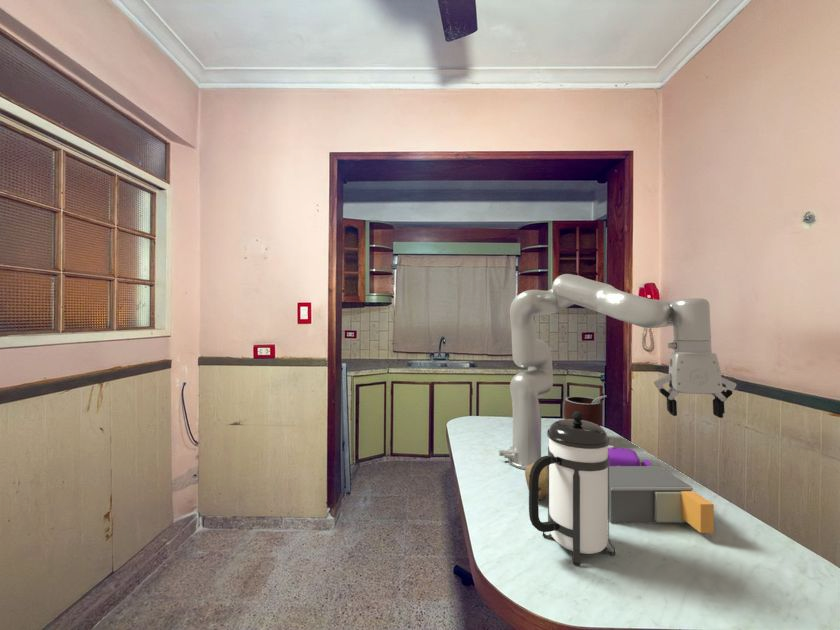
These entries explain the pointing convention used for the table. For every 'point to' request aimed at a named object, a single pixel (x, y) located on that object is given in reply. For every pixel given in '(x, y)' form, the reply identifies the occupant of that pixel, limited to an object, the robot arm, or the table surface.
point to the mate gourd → (584, 408)
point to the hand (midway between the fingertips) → (695, 415)
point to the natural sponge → (542, 481)
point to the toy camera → (624, 457)
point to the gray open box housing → (639, 492)
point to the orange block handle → (685, 509)
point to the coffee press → (575, 487)
